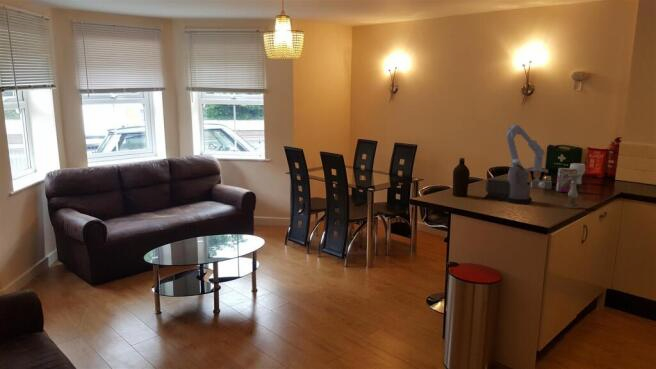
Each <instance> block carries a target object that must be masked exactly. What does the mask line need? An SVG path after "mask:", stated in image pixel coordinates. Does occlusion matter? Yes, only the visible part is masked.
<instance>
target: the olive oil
mask: <svg viewBox="0 0 656 369" xmlns="http://www.w3.org/2000/svg"><path fill="white" fill-rule="evenodd" d="M458 162H459V163H458V164H457V165H456V166H455V167H454V168H453V171H452V196H453V197H459V198H465V197H467V196H468V191H469V180H470V174H471V173H470V170H469V167H468V166H467V165H466V164H465V157H460V158H459V161H458Z"/></svg>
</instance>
